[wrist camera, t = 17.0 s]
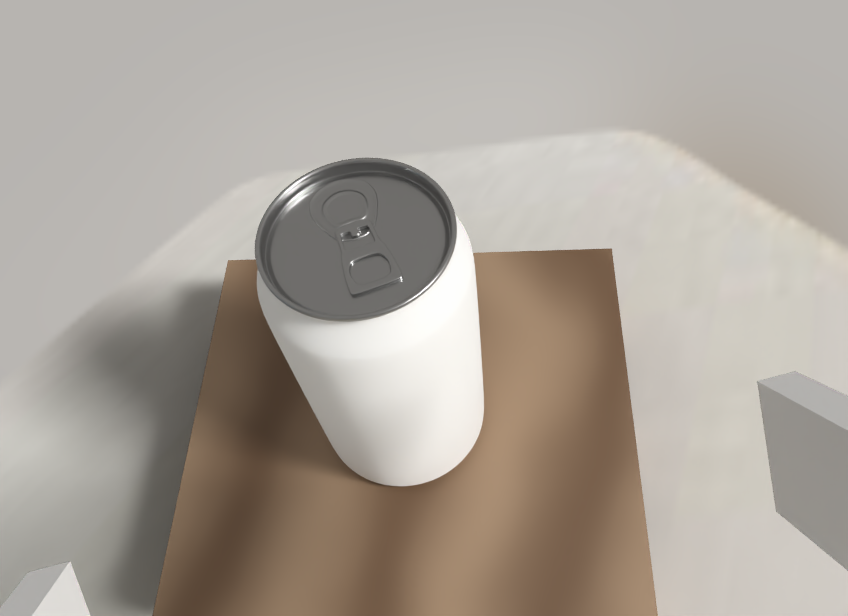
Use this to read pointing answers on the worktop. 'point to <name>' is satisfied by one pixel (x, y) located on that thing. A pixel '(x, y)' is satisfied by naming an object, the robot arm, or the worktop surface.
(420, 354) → the can
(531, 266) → the platform
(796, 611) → the worktop surface
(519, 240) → the worktop surface
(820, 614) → the worktop surface
